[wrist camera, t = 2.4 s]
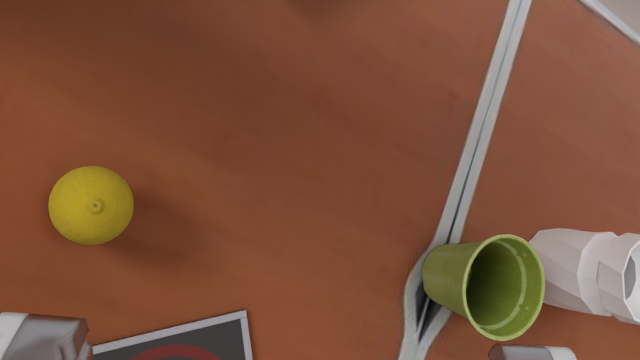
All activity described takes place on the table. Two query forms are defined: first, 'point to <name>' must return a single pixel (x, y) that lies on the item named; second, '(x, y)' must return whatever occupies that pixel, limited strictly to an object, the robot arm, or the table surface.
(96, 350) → the hob
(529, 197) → the table surface
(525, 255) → the plant pot
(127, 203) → the lemon
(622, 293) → the vase
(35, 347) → the robot arm
